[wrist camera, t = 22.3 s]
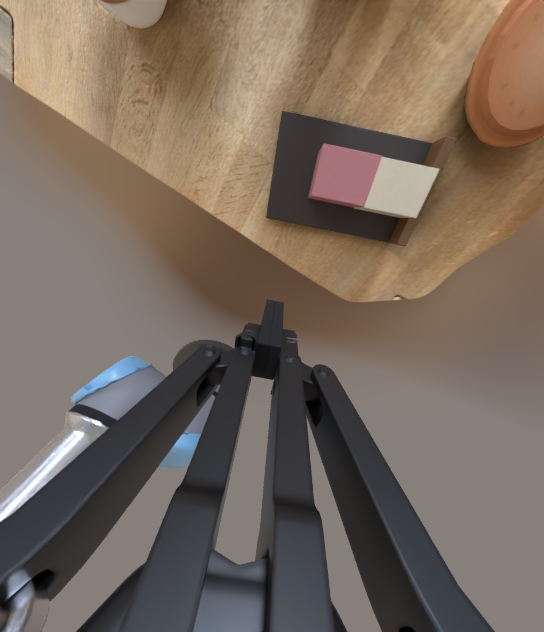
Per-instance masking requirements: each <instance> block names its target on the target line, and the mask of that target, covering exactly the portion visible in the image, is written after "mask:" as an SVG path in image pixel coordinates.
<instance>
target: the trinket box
mask: <svg viewBox="0 0 544 632" xmlns="http://www.w3.org/2000/svg"><path fill="white" fill-rule="evenodd" d="M96 1H97V2H98V3H99V4H100V5H101V6H102V7H103V8H104V9H105V10H107V11H108V12H109V13H110V14H111V15H113V16H114V17H115V18H117V19H118V20H120V21H121V22H123V23H125V24H127V25H129V26H132V27H135V28H147V27H150V26H152V25H154V24H155V23H156V22H157V21H158V20H159V19H160V17H161V16H162V14H163V12H164V10H165V7H166V3H167V0H96Z"/></svg>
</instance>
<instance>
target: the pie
mask: <svg viewBox="0 0 544 632" xmlns="http://www.w3.org/2000/svg"><path fill="white" fill-rule="evenodd" d="M465 115H466V119H467V122H468V124H469V125H470V127H471V128H472V129H473V131H474V132H475V134H476V135H477V137H478V139H479V140H480V141H481V142H484V143H486V144H488V145H491V146H493V147H505V148H511V147H515V146H519V145H523V144H527V143H530V142H532V141H534V140H536V139H538V138H540V137H541V136H543V135H544V0H511V1H510V2H509V3H508V4H507V5H506V7H505V8H504V10H503V11H502V13H501V14H500V16H499V18H498V19H497V21H496V22H495V24H494V25H493V27H492V29H491V30H490V32H489V33H488V35H487V37H486V39H485V41H484V43H483V45H482V47H481V49H480V51H479V53H478V55H477V57H476V59H475V61H474V63H473V66H472V70H471V74H470V78H469V82H468V86H467V91H466V95H465Z"/></svg>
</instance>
